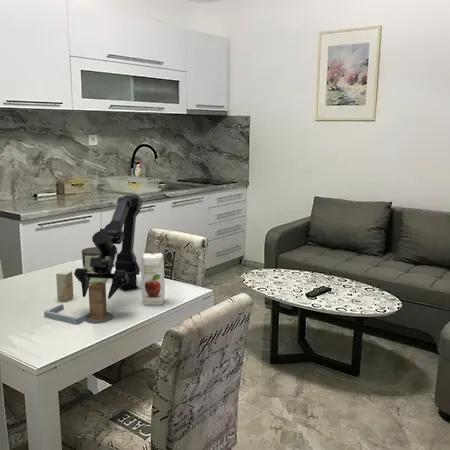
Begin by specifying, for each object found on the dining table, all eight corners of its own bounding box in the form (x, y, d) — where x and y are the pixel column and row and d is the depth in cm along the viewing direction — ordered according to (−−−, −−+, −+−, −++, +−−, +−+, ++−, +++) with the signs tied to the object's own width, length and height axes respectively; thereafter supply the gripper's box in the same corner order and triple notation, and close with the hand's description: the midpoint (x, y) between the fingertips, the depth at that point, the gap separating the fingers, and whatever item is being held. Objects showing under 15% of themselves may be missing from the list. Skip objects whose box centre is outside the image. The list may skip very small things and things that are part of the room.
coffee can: (78, 281, 211) (76, 250, 208) (97, 276, 219) (95, 245, 217) (93, 286, 205) (92, 254, 203) (112, 280, 214) (111, 249, 211)
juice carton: (143, 299, 191) (141, 252, 187) (165, 298, 192) (164, 252, 188) (141, 306, 184) (140, 257, 180) (164, 305, 184) (163, 257, 181)
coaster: (107, 310, 179) (107, 309, 179) (117, 319, 171) (117, 318, 171) (80, 315, 174) (80, 314, 174) (89, 325, 166) (88, 324, 165)
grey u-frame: (61, 309, 180) (61, 303, 180) (93, 316, 174) (93, 310, 173) (44, 316, 173) (43, 311, 172) (76, 324, 166) (76, 319, 166)
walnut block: (94, 314, 175) (93, 282, 172) (106, 314, 174) (105, 282, 172) (89, 318, 170) (88, 286, 168) (102, 319, 170) (100, 286, 167)
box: (67, 301, 187) (65, 274, 185) (57, 301, 188) (55, 273, 186) (74, 297, 192) (72, 270, 190) (64, 296, 193) (62, 269, 191)
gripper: (74, 246, 172) (62, 286, 164) (125, 248, 170) (115, 288, 161) (84, 261, 181) (73, 299, 173) (133, 263, 179) (124, 302, 171)
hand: (96, 297), depth 169 cm, fingers open, 9 cm apart
